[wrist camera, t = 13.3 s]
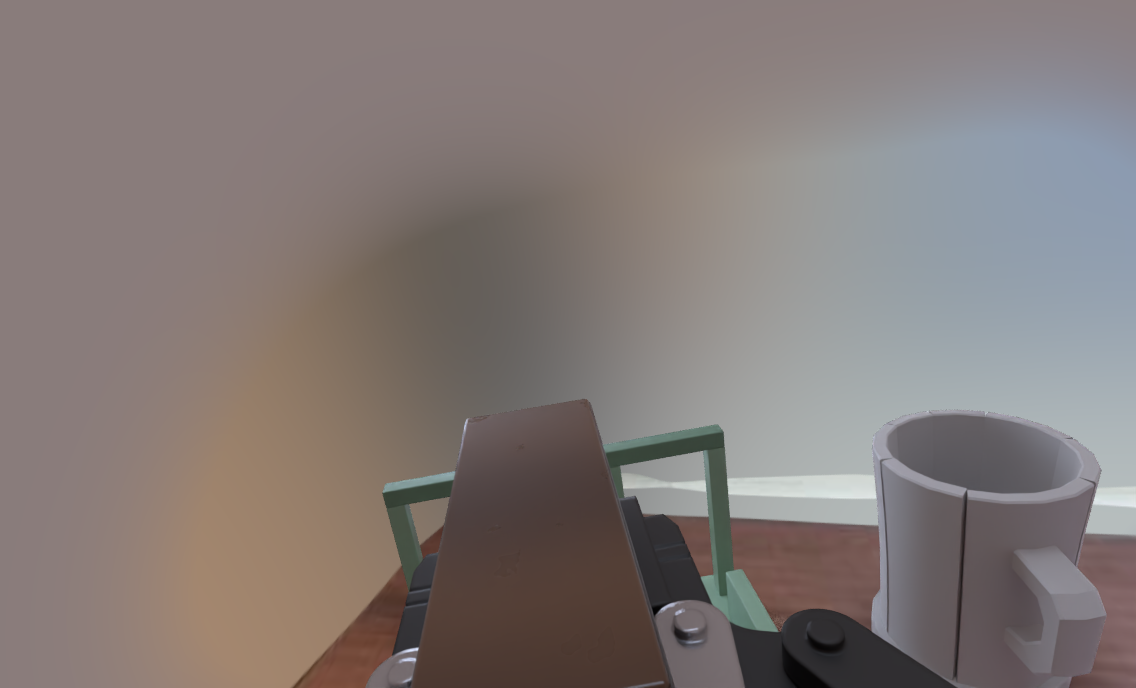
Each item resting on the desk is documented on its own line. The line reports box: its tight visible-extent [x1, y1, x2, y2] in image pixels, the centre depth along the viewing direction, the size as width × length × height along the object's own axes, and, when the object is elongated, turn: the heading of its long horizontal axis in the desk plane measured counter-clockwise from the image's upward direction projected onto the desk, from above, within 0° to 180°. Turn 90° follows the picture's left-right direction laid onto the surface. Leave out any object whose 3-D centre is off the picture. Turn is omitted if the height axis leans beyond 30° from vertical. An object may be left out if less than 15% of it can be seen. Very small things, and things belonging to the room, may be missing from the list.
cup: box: [871, 410, 1107, 688], centre depth 30 cm, size 10×9×12 cm
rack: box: [383, 425, 778, 632], centre depth 29 cm, size 16×20×12 cm
